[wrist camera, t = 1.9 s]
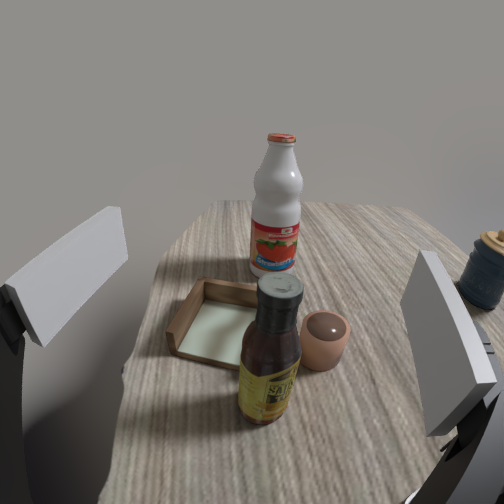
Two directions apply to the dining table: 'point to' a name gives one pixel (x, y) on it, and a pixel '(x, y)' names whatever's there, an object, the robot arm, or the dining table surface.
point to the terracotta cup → (323, 339)
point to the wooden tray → (213, 322)
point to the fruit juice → (276, 209)
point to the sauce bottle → (270, 349)
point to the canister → (485, 271)
